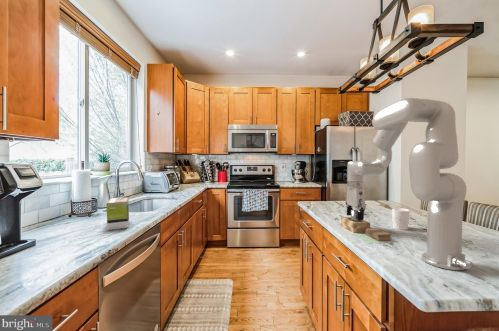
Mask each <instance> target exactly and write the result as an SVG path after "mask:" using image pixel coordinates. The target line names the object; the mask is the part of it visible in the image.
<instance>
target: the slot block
mask: <svg viewBox="0 0 499 331" xmlns="http://www.w3.org/2000/svg"><path fill="white" fill-rule="evenodd" d="M340 227H341V228H343V229H345V230H347V231H348V232H351V233H353V234H365V233H366V229H371V222H370V221H367V220H365V219H364V220H359V222H353V221H351V216H345V217H343V216H342V217H340Z"/></svg>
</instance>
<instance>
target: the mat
mask: <svg viewBox="0 0 499 331" xmlns="http://www.w3.org/2000/svg"><path fill="white" fill-rule="evenodd" d="M354 236H355V237H357V238H359V239H361V240H362V241H364V242H366V243H368V244H382V243H384V244H385V243H398V242H399V241H397V240H395V239H393V238H391V241H376V240H375V239H373V238H371V237H369V236H367V235H366V233H354Z"/></svg>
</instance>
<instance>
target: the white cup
mask: <svg viewBox="0 0 499 331" xmlns="http://www.w3.org/2000/svg"><path fill="white" fill-rule="evenodd" d="M410 211H411V210H410V209H408V208H403V207H402V208H400V207H393V208H391V217H392V218H391V220H392V227H393V229H396V230H400V231H407V230H409V223H410Z"/></svg>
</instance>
